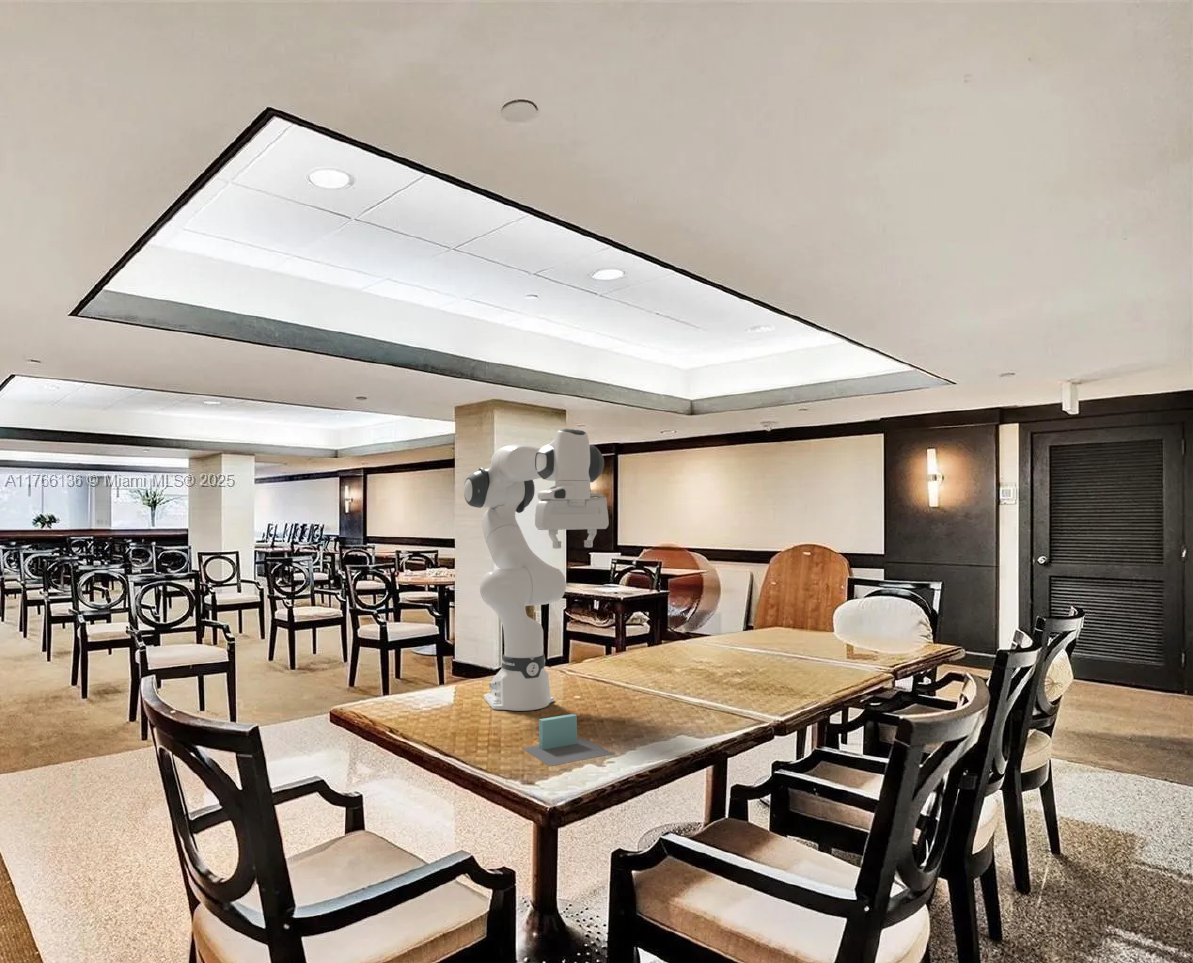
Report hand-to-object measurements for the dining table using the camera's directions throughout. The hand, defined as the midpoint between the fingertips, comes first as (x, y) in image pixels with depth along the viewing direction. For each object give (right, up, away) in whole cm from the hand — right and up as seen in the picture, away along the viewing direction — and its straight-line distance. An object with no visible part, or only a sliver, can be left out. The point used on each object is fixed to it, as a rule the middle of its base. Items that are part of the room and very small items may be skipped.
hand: (572, 547), depth 190 cm
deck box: (-3, -45, -15) cm, 47 cm away
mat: (-1, -45, -19) cm, 49 cm away
